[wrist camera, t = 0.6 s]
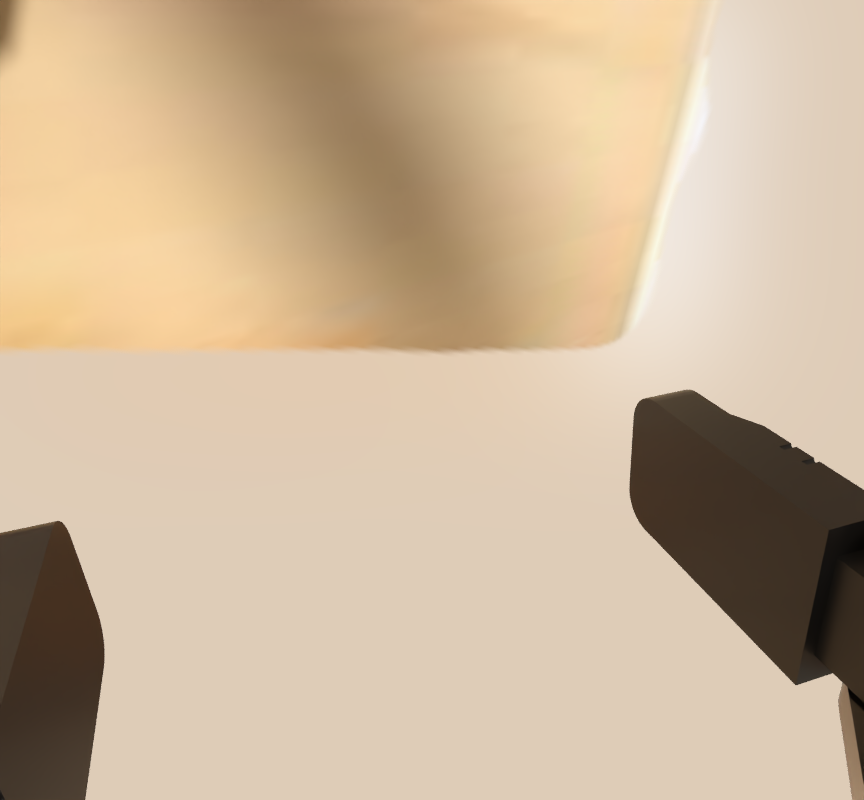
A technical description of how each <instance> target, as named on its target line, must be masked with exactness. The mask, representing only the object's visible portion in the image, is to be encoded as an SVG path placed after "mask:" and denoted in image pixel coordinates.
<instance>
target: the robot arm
mask: <svg viewBox="0 0 864 800" xmlns="http://www.w3.org/2000/svg"><path fill="white" fill-rule="evenodd" d="M630 498H631V503H632V507H633V510H634V512H635V515H636V517H637V519H638V521H639V522H640V524H641V525H642V526H643V528H644V529H645V530H646V531H647V532H648V533H649V534H650V535H651V536H652V537H653V538H654V539H655V540H656V541H657V542H658V543H659V544H660V545H661V547H662V548H663V549H664V550H665V551H666V552H667V553H668V554H669V555H670V556H671V557H672V558H673V559H674V560H675V561H676V562H677V563H678V564H679V565H680V566H681V567H682V568H683V569H684V570H685V571H686V572H687V573H688V574H689V575H690V576H691V578H692V579H693V580H694V581H695V582H696V583H697V584H698V585H699V586H700V587H701V588H702V589H703V590H704V591H705V592H706V593H707V594H708V595H709V596H710V597H711V598H712V599H713V600H714V601H715V602H716V603H717V604H718V605H719V606H720V607H721V608H722V610H723V611H724V612H725V613H726V614H727V615H728V616H729V617H730V618H731V619H732V620H733V621H734V622H735V623H736V624H737V625H738V626H739V627H740V628H741V629H742V630H743V631H744V632H745V633H746V634H747V635H748V636H749V637H750V638H751V639H752V640H753V642H754V643H755V644H756V645H758V647H759V648H760V649H761V650H762V651H763V652H764V653H765V654H766V655H767V656H768V657H769V658H770V659H771V660H772V661H773V662H774V663H775V664H776V665H777V666H778V667H779V668H780V669H781V671H782V672H783V673H785V675H786V676H787V677H788V678H789V679H790V680H791V681H792V682H793V683H794V684H795V685H798V684H801V683H804V682H807V681H810V680H813V679H816V678H819V677H822V676H825V675H828V674H831V673H833V674H835V675H836V676H837V677H838V678H839V679H840V680H841V681H842V682H843V683H842V687H841V691H840V695H839V699H838V703H839V713H840V720H841V726H842V732H843V740H844V746H845V753H846V760H847V767H848V773H849V780H850V787H851V794H852V800H864V490H863V489H862V488H860V487H858V486H857V485H855V484H853V483H852V482H850V481H849V480H847V479H846V478H844V477H843V476H841V475H840V474H838V473H836V472H835V471H833V470H832V469H830V468H828V467H827V466H825V465H824V464H822V463H821V462H817V463H815V462H814V458H813V457H811V456H810V455H808V454H807V453H805V452H804V451H802V450H801V449H799V448H797V447H794V448H792V446H791V443H789V442H788V441H786V440H785V439H783V438H782V437H780V436H779V435H777V434H776V433H774V432H772V431H771V430H769V429H767V428H766V427H765V426H762V425H759V424H756V423H754V422H751V421H748V420H745V419H742V418H740V417H737V416H734V415H731V414H729V413H727V412H726V411H724V410H723V409H721V408H719V407H718V406H717V405H715V404H713V403H712V402H710V401H709V400H707V399H706V398H704V397H703V396H701V395H700V394H698V393H697V392H695V391H693V390H683V391H678V392H674V393H669V394H664V395H659V396H655V397H650V398H645V399H642V400H641V401H639V403H638V404H637V406H636V408H635V412H634V423H633V438H632V455H631V471H630ZM103 669H104V640H103V633H102V628H101V623H100V619H99V615H98V612H97V610H96V607H95V604H94V601H93V598H92V596H91V593H90V590H89V587H88V584H87V582H86V579H85V576H84V573H83V570H82V568H81V565H80V562H79V559H78V556H77V554H76V551H75V548H74V545H73V543H72V540H71V537H70V534H69V532H68V530H67V528H66V527H65V525H64V524H63V523H62V522H60V521H56V522H51V523H46V524H41V525H36V526H32V527H27V528H22V529H18V530H13V531H8V532H3V533H0V800H85V796H86V789H87V782H88V776H89V768H90V761H91V754H92V747H93V740H94V733H95V725H96V719H97V712H98V705H99V697H100V690H101V682H102V675H103Z"/></svg>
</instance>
